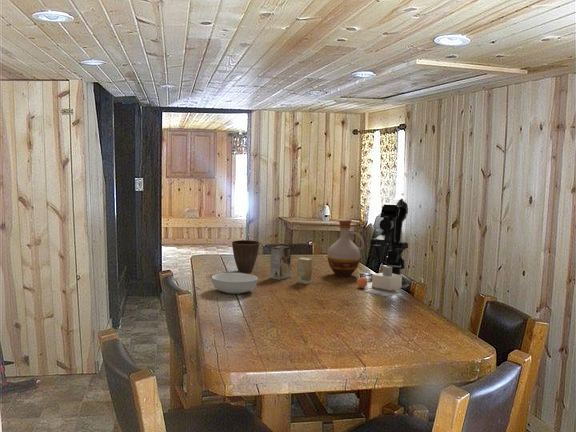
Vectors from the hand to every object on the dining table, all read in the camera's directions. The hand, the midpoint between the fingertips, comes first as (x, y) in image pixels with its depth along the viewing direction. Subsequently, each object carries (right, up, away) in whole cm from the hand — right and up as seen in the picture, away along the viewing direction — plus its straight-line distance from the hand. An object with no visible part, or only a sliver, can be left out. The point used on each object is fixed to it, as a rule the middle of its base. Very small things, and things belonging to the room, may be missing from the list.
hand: (387, 261), depth 264 cm
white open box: (0, -13, +1) cm, 13 cm away
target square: (-4, -14, -10) cm, 18 cm away
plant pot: (-72, -8, +29) cm, 78 cm away
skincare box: (-41, -12, +6) cm, 43 cm away
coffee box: (-53, -10, +16) cm, 56 cm away
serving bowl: (-73, -13, -17) cm, 76 cm away
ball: (-13, -10, -2) cm, 17 cm away
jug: (-18, -10, +27) cm, 34 cm away
